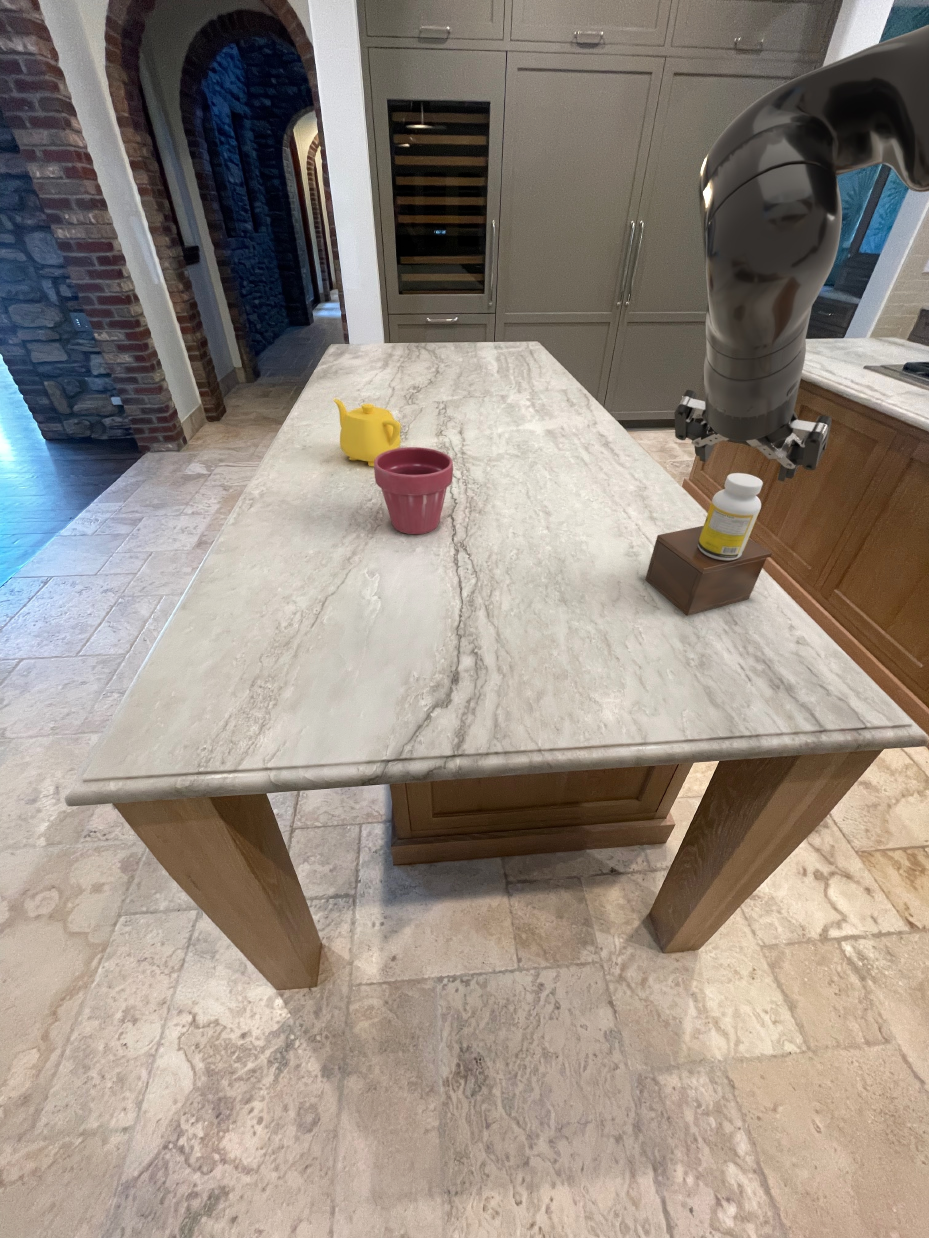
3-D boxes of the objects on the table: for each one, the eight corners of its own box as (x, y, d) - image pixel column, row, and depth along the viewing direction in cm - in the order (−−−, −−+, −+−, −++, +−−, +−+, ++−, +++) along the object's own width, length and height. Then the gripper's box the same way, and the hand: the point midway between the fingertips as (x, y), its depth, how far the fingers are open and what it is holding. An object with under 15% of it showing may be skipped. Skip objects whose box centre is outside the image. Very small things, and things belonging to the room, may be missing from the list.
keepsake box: (703, 565, 95) (717, 526, 90) (748, 599, 87) (766, 558, 82) (644, 579, 91) (656, 539, 86) (687, 615, 83) (702, 573, 78)
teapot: (357, 440, 139) (352, 390, 131) (419, 457, 131) (417, 405, 123) (320, 455, 130) (312, 403, 123) (383, 475, 122) (379, 420, 114)
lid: (720, 525, 90) (722, 521, 89) (770, 557, 82) (772, 552, 82) (656, 539, 86) (657, 534, 85) (702, 573, 78) (704, 569, 78)
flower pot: (442, 503, 111) (442, 443, 103) (460, 536, 101) (461, 471, 93) (374, 511, 108) (368, 449, 100) (385, 545, 98) (379, 479, 90)
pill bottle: (723, 538, 85) (749, 468, 78) (750, 559, 80) (781, 486, 73) (687, 543, 83) (710, 472, 76) (713, 565, 79) (740, 491, 71)
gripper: (864, 350, 43) (828, 449, 57) (689, 326, 50) (696, 421, 64) (823, 433, 43) (797, 511, 57) (654, 398, 50) (668, 476, 64)
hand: (744, 463), depth 61 cm, fingers open, 8 cm apart
